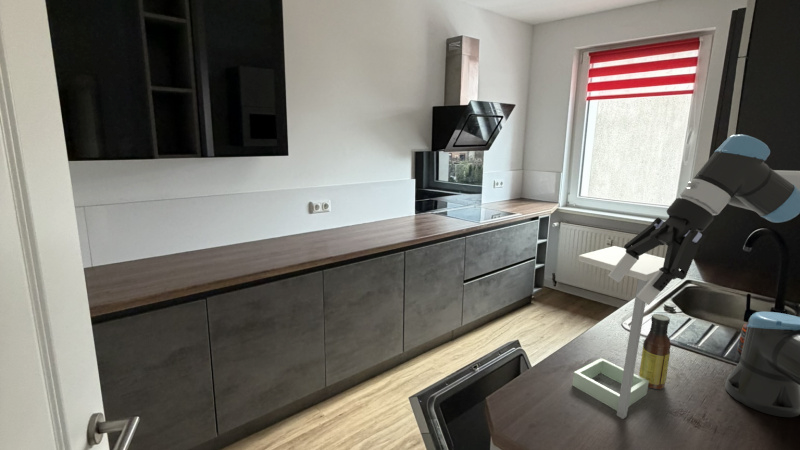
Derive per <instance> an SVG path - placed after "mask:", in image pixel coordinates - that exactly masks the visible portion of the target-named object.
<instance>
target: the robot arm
mask: <svg viewBox="0 0 800 450" xmlns="http://www.w3.org/2000/svg"><path fill="white" fill-rule="evenodd" d="M770 154H771V150H770V148H769V146H768V145H767V144H766V143H765V142H763V141H762V140H760V139H758V138H756V137H753V136H750V135H747V134H738V133H737V134H732V135H730V136H728V137H727V138H726V139H725V140H724V141H723V142H722V144H720V146H718V148H717V149H715V150H714V152H713V154H711V156H710V157H709V159H708V160H707V161H706V162H705V163H704V164H703V166H702V167H701V168H700V170H699V171H698V172H697V173H696V174H695V175H694V177H693V178H692V180H691V181H688V182H687V185H686V187H685V188H684V189H683V190H682V192H680V197H678V198H675V200H674V201H673V202H672V203H671V204H670V205H669V207H668V208H667V209H666V213H667V215H668V218H667V219H666V220H663V219H661V217H657V218H655V219H654V220H653V221H652V222H651V224H650V225H649V226H647V227H646V228H645V229H643V230H642V231H640V232H639V233H638V234H637V235H636V236H635V237H633V238H632V239H631V240H629V241H628V242H627V243H626V244H624V245H623V248H625V249H626V254H625V255H624V256H623V257H622V259H621V260H620V261H619V262H618V263H617V265H616V266H615V267H614V268H613V269H612V271H609V273H608V274H607V276H608V277H610V279H612V280H613V281H615V282H617V283H618V284H619V283H620V282H622V280H623V278H624V277H625V276H627V275H626V274H627V272H628V271H629V270H630V269H631V268H632V266H633V265H634V264H635V263H636V262H637V260H639V256H640V255H642V254H644V253H645V254H647V253H648V252H650V251H651V250H653V249H655V248H657V247H658V246H667V247H666V252H665V256H664V258H665V260H664V265H663V267H662V268H659V270H660V271H659V270H658V271H657V272H656V273H655V274H654V276H653V277H652V278H651V279H650V280H649V281H648V283H647V284H646V285H645V286H644V287H643V288H642V290H641V291H640V292H639V293H638V294H637V295H636V294H635V296H636V297H638V298H639V299H641V300H642V301H644V302H645V305H648V306H649V305H650V304H652V302H653V301H654V300H655V299H656V298H657V297H658V295H659V294H660V293H661V292H662V291H664V290H665V288H666V287H667V286H668V284H670V282H671V281H672V280H676V279H679V280H685V279H686V277H687V275H688V273H689V270H690V268H691V266H692V263H693V261H694V259H695V256H696V253H697V252H698V250H699V248H700V246H701V244H702V243H703V242H704V241H705V239H706V236H705V235H704V234H702V233H703V232H704V231H705V230H706V229H707V228H708V227H709V225H710V224H711V223H712V222H713V221H714V219H715V218H714V217H715V216H717V215H719V214H720V213H721V212H722V210H723V209H724V208H725V207H726V206H727V205H730V206H733V207H737V208H742V209H745V210H750V211H753V212H755V213H757V214H758V216H760V217H761V218H763V219H765V220H767V221H769V222H771V223H776V224H777V223H784V222H788V221H791V220H792V219H794V218H796V217H797V216H798V215H800V170H780V169H779V170H777V169H776V170H775V169H772V168H771V167H769V165H768V164H767V163H765V161H767V159H768V157H769V156H770ZM661 271H662V272H663V273H662V272H661ZM749 318H750V320H749V319H748V320H749V323H748V322H747V323H748V325H747V329H746V334H745V338H744V343H743V348H742V353H740V358H739V362H738V363H737V365H735V367H734V368H733V370H732V371H731V372H730V373H729V374H728V376H727V377H726V381H725V385H724V386H725V387H724V388H725V390H726V392H727V393H728V394H729V395H730V396H731V397H732V398H733V399H734V400H736V401H738V402H739V403H740V404H743V405H744V406H746V407H748V408H751V409H753V410H755V411H758V412H759V413H764V414H767V415H770V416H774V417H780V418H781V417H782V418H795V417H798V416H800V316H796V315H792V314H788V313H787V314H786V313H783V312H782V313H781V312H774V311H757V312H753V313H752V315H750V317H749Z"/></svg>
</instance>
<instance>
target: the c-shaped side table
mask: <svg viewBox="0 0 800 450" xmlns="http://www.w3.org/2000/svg"><path fill="white" fill-rule="evenodd" d="M625 254H626V249H625V248H624V247H620V246H616V245H613V246H609V247H606V248H601V249H597V250H595V251H594V250H593V251H590V252H586V253H583V254H579V255H578V259H577V261H578V262H581V263H584V264H587V265H591V266H594V267H597V268H600V269H603V270H608V271H609V272H611V271H612V269H613V268H614V267H615V266H616V265H617V263H618V262H619V261H620V260H621V259H622V257H623V256H624V255H625ZM664 260H665V257H660V256H657V255H653V254H649V253H644V254H642V255H640V256H639V260H637V262H636V263H635V264H634V265H633V266H632V268H631V269H630V270H629V271H628V272H627V274H626V275H625V276H627V277H630V278H633V279H637V285H636V291H635V292H636V293H635V297H634V302H633V309H632V310H633V311H632V314H631V315H632V316H631V323H630V329H629V335H628V342H627V347H626V354H625V361H624V366H623V369H624V371H623V378H622V384H621V383H620V385H621V386H620V391H619V394H620V396H619V403H618V409H617V411H616V416H617V417H619V418H620V419H621V420H622V419H625V418H627V416H628V412H629V411H628V410H629V407H628V405H629V399H630V393H631V387H632V381H633V375H634V374H635V367H636V362H637V356H638V350H639V344H640V339H641V333H642V328H643V327H642V326H643V320H644V314H645V307H646V303H645V302H644V301H642V300H641V299H639V298H638V297H636V295H637V294H638V293H639V292H640V291H641V290H642V288H643V287H644V286H645V285H646V284H647V283H648V281H649V280H650V279H651V278H652V277H653V276H654V274H655V273H656V272H657V271H658V270H659V268H662V267H663V265H664ZM659 271H660V270H659ZM661 272H662V271H661ZM662 273H663V272H662Z"/></svg>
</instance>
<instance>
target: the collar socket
mask: <svg viewBox="0 0 800 450" xmlns="http://www.w3.org/2000/svg"><path fill="white" fill-rule="evenodd" d="M623 371H624V367H621V366H619V365H617V364H614V363H613V362H611V361H609V360H606V359H604V358H603V357H601V358H598V359H597V360H594V361H592V362H591V363H589V364H587V365H585V366H583V367H581V368H578V369H577V370H575V371H574V372H573V378H572V383H571V385H572V386H573V387H575V388H576V389H578V390H580V391H581V392H583V393H584V394H585V393H586V394H587V395H589V396H591V397H592V398H594V399H596V400H598V401H599V402H601V403H603V404H605V405H606V406H608V407H610V408H611V409H613V410H615V411H616V412H617V409H618V403H619V396H620V393H618V392H617V391H615V390H613V389H611V388H609V387H607V386H605V385H604V384H601V383H600V382H598V381H596V380H595V379H593V378H595V377H597V376H599V375H600V374H601V373H602V374H601V375H603V374H604V376H605V377H607V378H609V379H611V380H613V381H614V382H616V383H619V384H620V385H621V384H622V378H623ZM598 374H599V375H598ZM596 375H597V376H596ZM648 383H649V381H648V380H646V379H644V378H642V377H640V376H639V374H636V373H634V375H633V381H632V387H631V393H630V399H629V405H628V408H629V407H631V405H633V404H634V403H636V402H637V401H639V400H640V399H643V397H645V396H646V395H647V393H648V388H649V387H648Z"/></svg>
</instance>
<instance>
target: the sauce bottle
mask: <svg viewBox="0 0 800 450" xmlns="http://www.w3.org/2000/svg"><path fill="white" fill-rule="evenodd" d="M670 319H671V318H670V317H669V316H668V315H665V314H660V313H654V314H652V315H651V325H650V328H649V332H648V334H647V335H646V337H645V339H644V340H643V343H642V349H641V351H642V352H641V358H640V359H641V360H640V365H639V371H638V373H639V374H638V376H640V377H642V378H644V379H646V380H648V381H649V383H648V388H650V389H655V390H662V389H664V387H665V386H666V382H667V375H668V370H669V369H668V368H669V362H670V355H671V346H672V345H671V344H672V343H671V341H670V340H671V339H670V338H669V336H668V327H669V324H670Z"/></svg>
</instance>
